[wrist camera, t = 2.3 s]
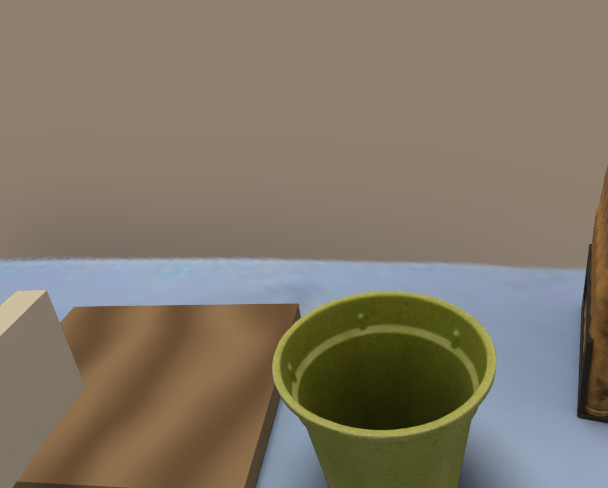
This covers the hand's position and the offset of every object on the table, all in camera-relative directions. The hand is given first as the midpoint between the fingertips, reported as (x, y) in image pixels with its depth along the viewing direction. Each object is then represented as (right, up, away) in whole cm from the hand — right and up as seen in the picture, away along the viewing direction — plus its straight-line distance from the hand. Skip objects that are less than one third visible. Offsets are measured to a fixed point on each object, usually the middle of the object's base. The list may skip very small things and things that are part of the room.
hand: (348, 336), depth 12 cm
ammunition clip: (+17, -5, +23) cm, 29 cm away
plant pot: (+4, -10, +17) cm, 20 cm away
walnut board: (-11, -8, +25) cm, 29 cm away
